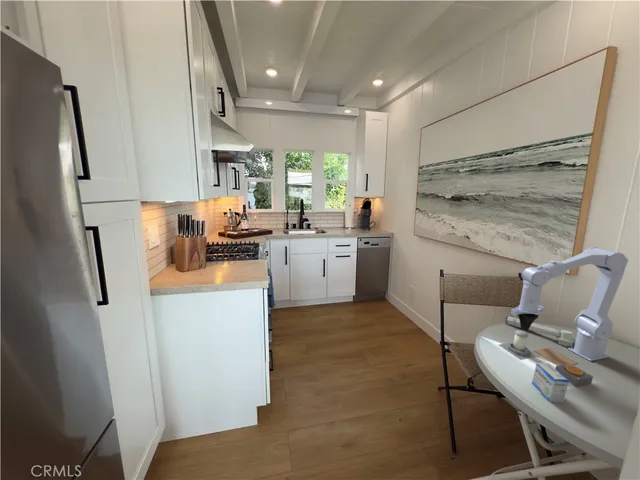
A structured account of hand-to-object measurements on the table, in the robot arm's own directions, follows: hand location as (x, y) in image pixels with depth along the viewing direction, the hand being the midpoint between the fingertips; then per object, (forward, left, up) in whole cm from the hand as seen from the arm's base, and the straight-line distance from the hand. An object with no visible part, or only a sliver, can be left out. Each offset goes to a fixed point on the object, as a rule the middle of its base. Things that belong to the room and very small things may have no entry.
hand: (524, 329), depth 107 cm
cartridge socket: (0, -1, -10) cm, 11 cm away
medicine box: (+12, +19, -11) cm, 25 cm away
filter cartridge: (0, -1, -10) cm, 10 cm away
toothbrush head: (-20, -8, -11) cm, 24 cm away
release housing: (-4, +16, -10) cm, 20 cm away
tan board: (-10, +6, -10) cm, 16 cm away
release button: (-4, +16, -10) cm, 20 cm away
